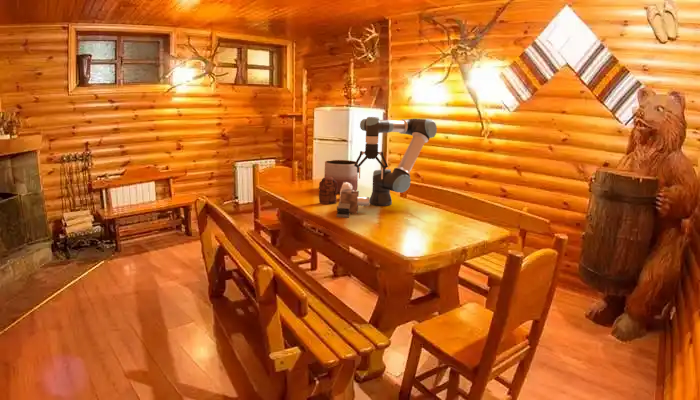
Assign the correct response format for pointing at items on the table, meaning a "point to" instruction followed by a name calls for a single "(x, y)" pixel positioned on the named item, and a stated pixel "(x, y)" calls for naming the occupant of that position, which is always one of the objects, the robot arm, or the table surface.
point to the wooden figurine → (327, 190)
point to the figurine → (346, 186)
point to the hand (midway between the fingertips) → (370, 178)
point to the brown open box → (350, 199)
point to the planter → (342, 172)
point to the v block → (343, 210)
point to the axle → (361, 201)
